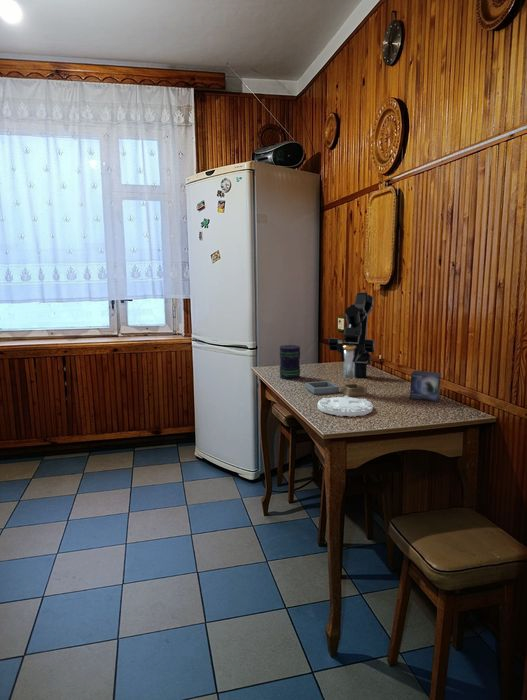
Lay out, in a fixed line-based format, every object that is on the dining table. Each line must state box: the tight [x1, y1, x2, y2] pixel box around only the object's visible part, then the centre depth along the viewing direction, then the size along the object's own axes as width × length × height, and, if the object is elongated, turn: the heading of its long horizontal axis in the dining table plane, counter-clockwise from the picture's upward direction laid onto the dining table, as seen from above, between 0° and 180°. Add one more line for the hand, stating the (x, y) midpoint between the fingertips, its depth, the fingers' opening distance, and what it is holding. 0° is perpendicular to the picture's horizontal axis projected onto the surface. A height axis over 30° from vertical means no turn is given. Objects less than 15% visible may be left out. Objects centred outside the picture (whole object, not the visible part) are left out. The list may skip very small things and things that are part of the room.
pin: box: [342, 345, 356, 379], centre depth 192 cm, size 5×5×13 cm
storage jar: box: [279, 344, 301, 381], centre depth 223 cm, size 10×10×15 cm
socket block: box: [340, 382, 368, 397], centre depth 194 cm, size 8×8×3 cm
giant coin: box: [317, 395, 374, 418], centre depth 172 cm, size 20×20×3 cm
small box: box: [409, 370, 442, 403], centre depth 184 cm, size 11×6×10 cm, turn 62°
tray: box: [304, 380, 340, 396], centre depth 199 cm, size 11×11×2 cm
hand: (348, 361), depth 191 cm, fingers closed on pin, 4 cm apart
